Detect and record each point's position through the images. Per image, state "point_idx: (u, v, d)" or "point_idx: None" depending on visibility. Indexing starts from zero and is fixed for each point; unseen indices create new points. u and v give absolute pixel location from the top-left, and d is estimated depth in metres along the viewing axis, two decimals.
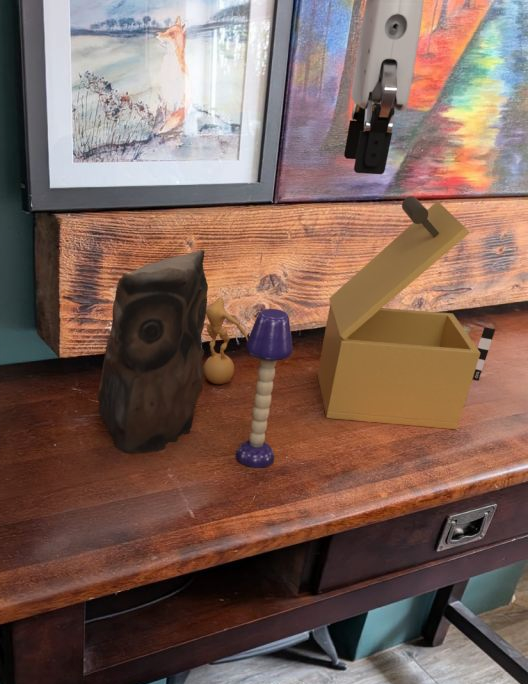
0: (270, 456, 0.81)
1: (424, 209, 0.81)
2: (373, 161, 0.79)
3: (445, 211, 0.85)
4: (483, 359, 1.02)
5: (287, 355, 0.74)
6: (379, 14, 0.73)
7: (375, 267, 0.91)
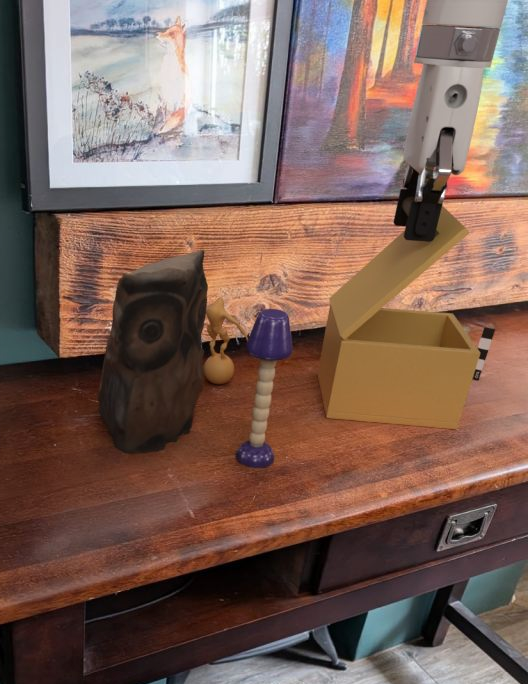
0: (270, 456, 0.81)
1: None
2: (423, 230, 0.81)
3: (445, 211, 0.85)
4: (483, 358, 1.02)
5: (287, 355, 0.74)
6: (439, 84, 0.74)
7: (375, 267, 0.91)
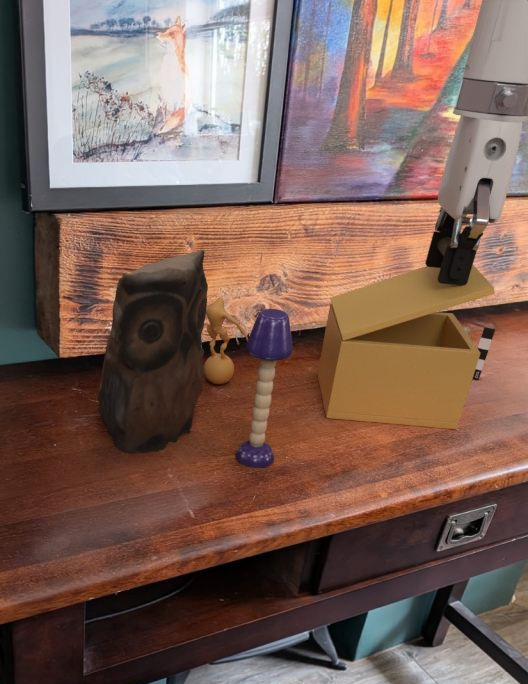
0: (270, 456, 0.81)
1: None
2: (457, 274, 0.83)
3: None
4: (483, 359, 1.02)
5: (287, 355, 0.74)
6: (479, 137, 0.76)
7: (387, 288, 0.92)
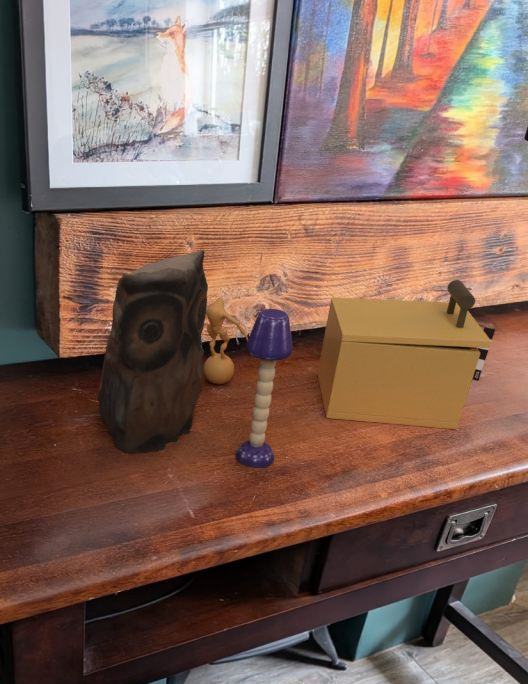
0: (270, 456, 0.81)
1: (473, 301, 0.86)
2: None
3: (470, 316, 0.91)
4: (483, 358, 1.02)
5: (287, 355, 0.74)
6: None
7: (389, 308, 0.94)
